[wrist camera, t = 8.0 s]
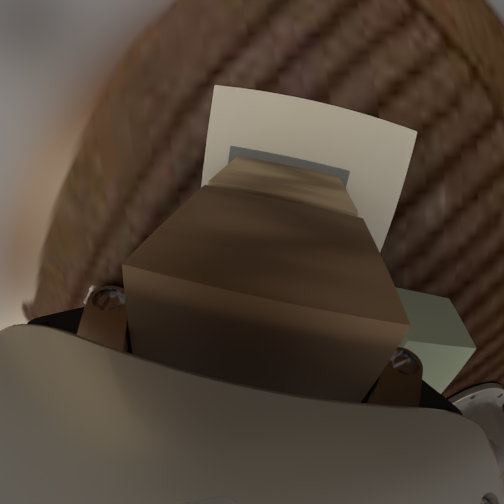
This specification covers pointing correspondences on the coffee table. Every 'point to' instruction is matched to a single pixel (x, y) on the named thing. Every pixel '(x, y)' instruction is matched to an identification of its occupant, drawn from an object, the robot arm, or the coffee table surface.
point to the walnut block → (265, 296)
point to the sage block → (435, 337)
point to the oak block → (285, 184)
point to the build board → (313, 146)
